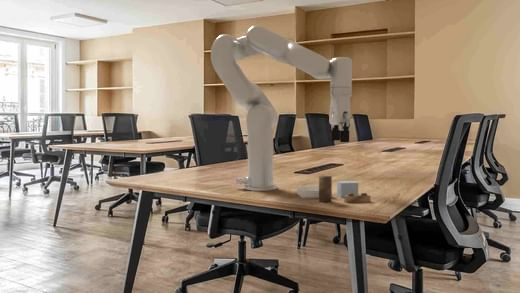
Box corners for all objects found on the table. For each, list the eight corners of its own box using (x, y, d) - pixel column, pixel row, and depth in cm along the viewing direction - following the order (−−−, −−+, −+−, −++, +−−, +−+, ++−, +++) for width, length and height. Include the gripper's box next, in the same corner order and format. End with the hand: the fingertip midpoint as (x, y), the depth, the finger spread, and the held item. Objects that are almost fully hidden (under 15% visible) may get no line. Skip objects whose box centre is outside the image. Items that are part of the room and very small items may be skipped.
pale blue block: (340, 198, 143) (341, 183, 142) (337, 195, 146) (337, 181, 146) (358, 197, 143) (358, 182, 143) (353, 195, 147) (354, 180, 147)
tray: (303, 198, 141) (303, 191, 141) (296, 193, 150) (296, 186, 150) (331, 197, 142) (332, 190, 142) (323, 192, 152) (323, 185, 152)
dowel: (320, 202, 134) (321, 177, 134) (317, 200, 138) (317, 175, 138) (333, 202, 135) (333, 177, 134) (329, 199, 139) (329, 175, 138)
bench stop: (346, 202, 134) (346, 194, 134) (344, 201, 136) (344, 193, 136) (370, 201, 136) (370, 193, 135) (367, 200, 138) (368, 192, 137)
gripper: (323, 93, 159) (322, 139, 161) (338, 91, 142) (337, 143, 144) (342, 94, 160) (341, 139, 162) (360, 91, 143) (359, 142, 145)
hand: (339, 141), depth 153 cm, fingers open, 9 cm apart
